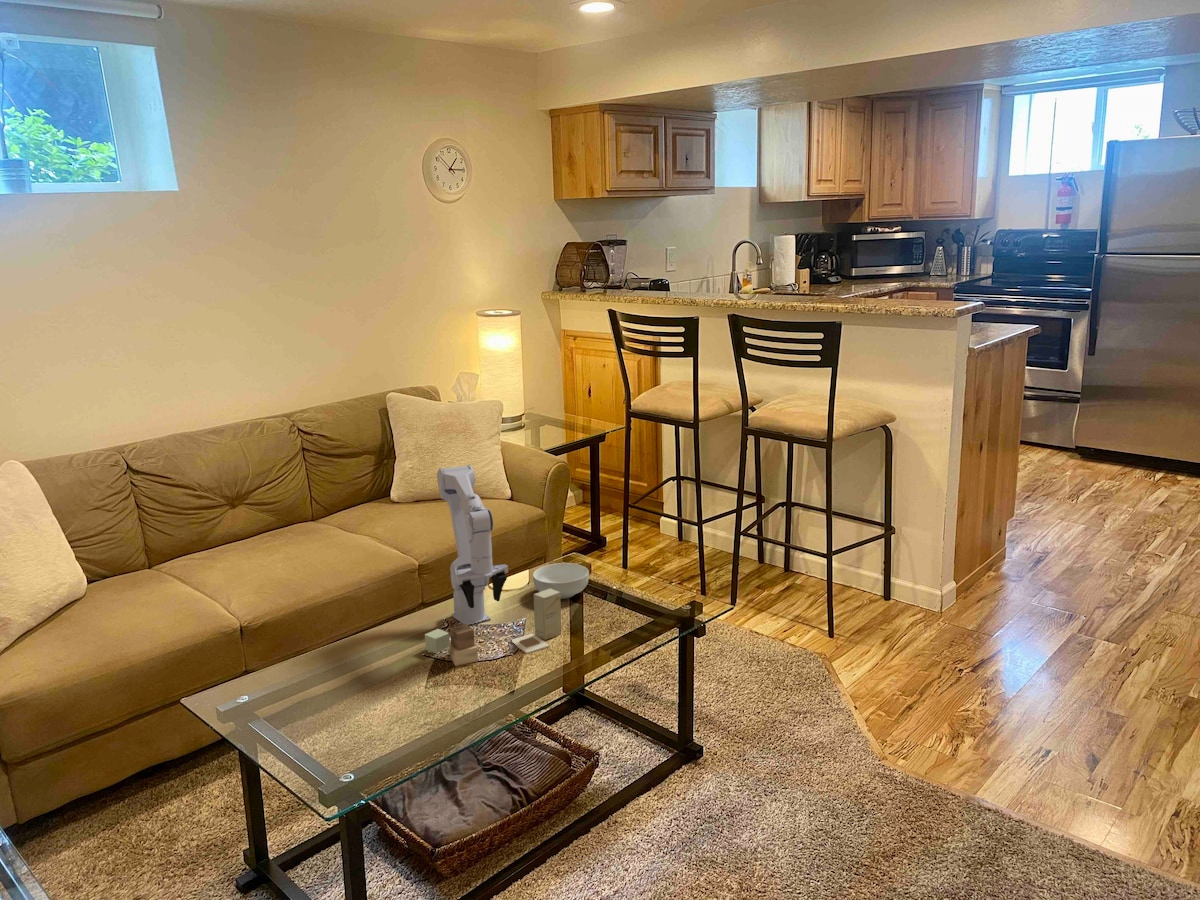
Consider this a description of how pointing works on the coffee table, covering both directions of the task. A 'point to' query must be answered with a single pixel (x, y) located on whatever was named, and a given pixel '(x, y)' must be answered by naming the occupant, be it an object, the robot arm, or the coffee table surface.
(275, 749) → the coffee table surface
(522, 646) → the card
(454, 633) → the walnut cube
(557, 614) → the skincare box
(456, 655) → the maple base
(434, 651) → the sage cube
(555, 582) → the cereal bowl
